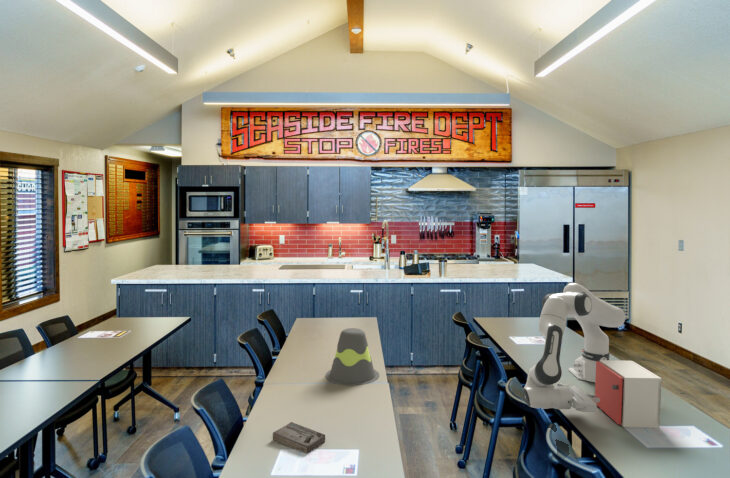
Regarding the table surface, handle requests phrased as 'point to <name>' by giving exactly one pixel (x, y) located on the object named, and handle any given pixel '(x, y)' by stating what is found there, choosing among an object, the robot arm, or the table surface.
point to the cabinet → (638, 394)
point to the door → (609, 391)
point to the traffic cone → (352, 360)
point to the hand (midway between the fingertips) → (597, 398)
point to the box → (299, 437)
